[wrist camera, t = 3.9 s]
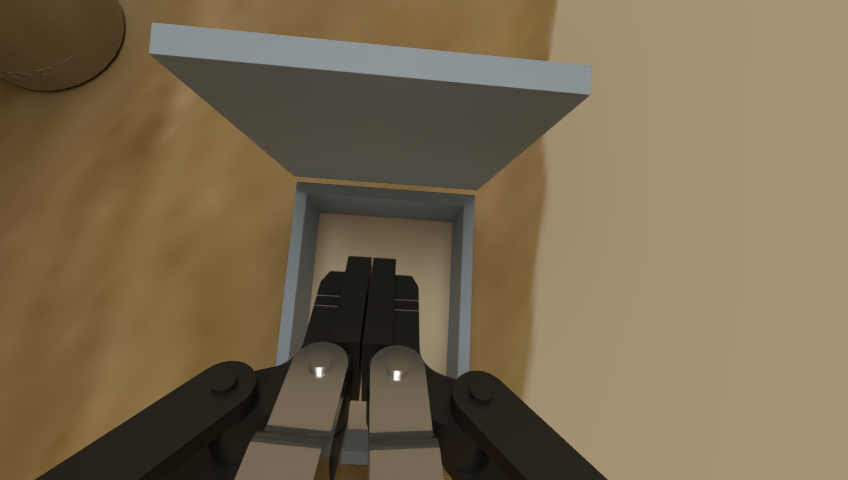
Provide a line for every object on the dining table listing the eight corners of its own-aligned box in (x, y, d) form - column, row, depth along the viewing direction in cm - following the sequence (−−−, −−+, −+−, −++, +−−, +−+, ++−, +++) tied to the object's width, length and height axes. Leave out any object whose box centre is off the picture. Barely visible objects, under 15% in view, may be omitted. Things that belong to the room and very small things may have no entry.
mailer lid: (294, 176, 23) (295, 161, 23) (477, 190, 24) (478, 176, 24) (148, 53, 9) (152, 17, 9) (590, 94, 10) (592, 61, 10)
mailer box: (313, 205, 28) (297, 181, 24) (460, 216, 29) (474, 195, 24) (288, 434, 26) (264, 461, 21) (451, 440, 26) (465, 468, 21)
